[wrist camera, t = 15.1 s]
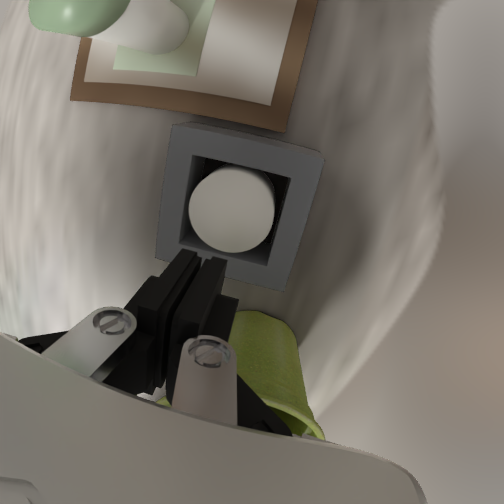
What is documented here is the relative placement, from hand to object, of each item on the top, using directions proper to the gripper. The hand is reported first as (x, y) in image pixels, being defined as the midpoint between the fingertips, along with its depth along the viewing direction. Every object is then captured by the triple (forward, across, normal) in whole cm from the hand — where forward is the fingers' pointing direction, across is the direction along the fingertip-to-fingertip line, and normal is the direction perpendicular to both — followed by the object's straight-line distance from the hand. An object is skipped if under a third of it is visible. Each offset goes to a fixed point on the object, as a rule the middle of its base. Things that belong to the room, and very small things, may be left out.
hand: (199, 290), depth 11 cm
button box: (+7, 0, -2) cm, 8 cm away
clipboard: (+6, +5, -14) cm, 16 cm away
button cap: (+7, 0, -2) cm, 7 cm away
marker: (+6, +6, -10) cm, 13 cm away
